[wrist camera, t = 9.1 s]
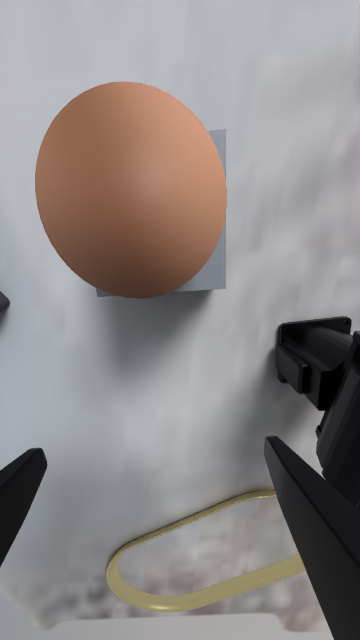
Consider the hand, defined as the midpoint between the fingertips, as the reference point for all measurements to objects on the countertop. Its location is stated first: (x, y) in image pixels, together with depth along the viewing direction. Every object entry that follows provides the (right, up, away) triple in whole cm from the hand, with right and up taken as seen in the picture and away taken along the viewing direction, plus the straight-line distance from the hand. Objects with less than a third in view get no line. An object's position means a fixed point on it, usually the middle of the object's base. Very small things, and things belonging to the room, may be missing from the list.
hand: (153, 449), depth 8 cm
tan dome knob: (0, +10, +2) cm, 10 cm away
